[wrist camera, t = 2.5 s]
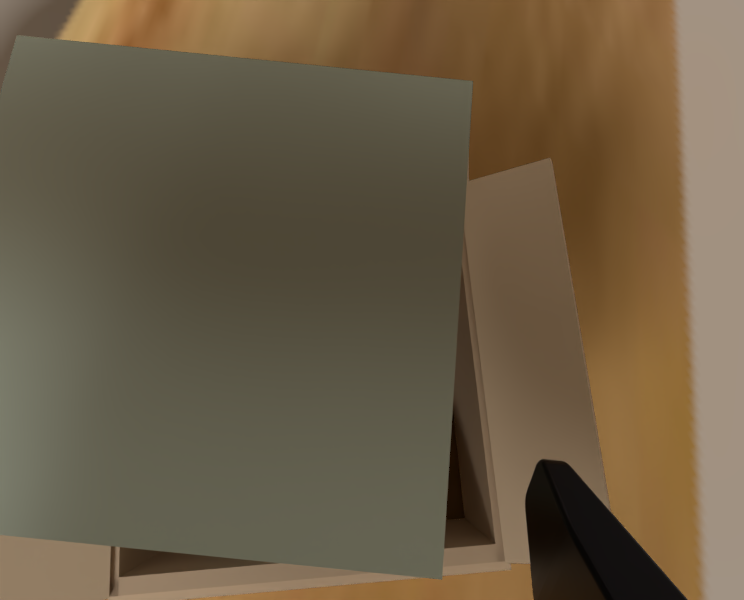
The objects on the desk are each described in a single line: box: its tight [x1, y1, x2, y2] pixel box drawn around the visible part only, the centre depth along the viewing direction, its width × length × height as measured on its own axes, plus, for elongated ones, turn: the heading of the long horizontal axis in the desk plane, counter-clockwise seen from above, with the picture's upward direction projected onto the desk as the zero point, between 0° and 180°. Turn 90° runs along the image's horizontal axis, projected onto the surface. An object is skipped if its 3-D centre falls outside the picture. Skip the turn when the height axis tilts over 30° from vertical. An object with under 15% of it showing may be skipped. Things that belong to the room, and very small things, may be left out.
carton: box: [0, 155, 611, 600], centre depth 16 cm, size 12×14×5 cm
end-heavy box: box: [0, 35, 473, 580], centre depth 12 cm, size 5×5×13 cm
